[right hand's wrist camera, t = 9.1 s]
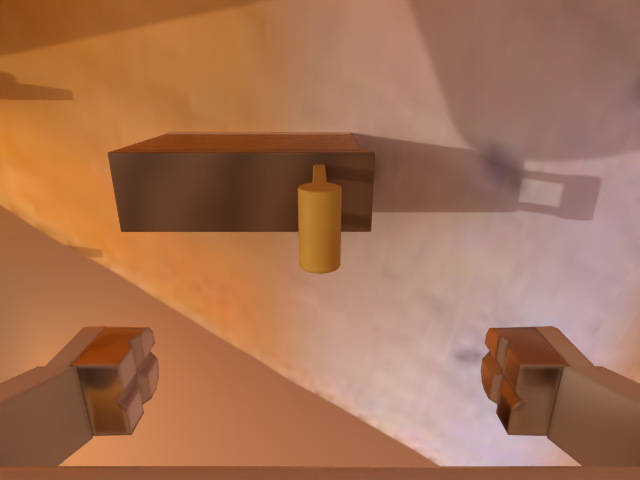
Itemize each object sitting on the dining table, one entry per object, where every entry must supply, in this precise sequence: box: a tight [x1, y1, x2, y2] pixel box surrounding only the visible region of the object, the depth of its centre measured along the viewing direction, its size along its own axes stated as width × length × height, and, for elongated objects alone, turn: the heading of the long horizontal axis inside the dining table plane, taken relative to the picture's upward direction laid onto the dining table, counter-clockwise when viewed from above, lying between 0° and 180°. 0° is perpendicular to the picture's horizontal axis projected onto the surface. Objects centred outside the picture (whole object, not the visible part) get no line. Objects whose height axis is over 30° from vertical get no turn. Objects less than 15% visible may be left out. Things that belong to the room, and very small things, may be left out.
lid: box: [108, 150, 374, 273], centre depth 22 cm, size 16×5×8 cm, turn 90°
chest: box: [118, 133, 361, 150], centre depth 31 cm, size 15×5×10 cm, turn 90°
